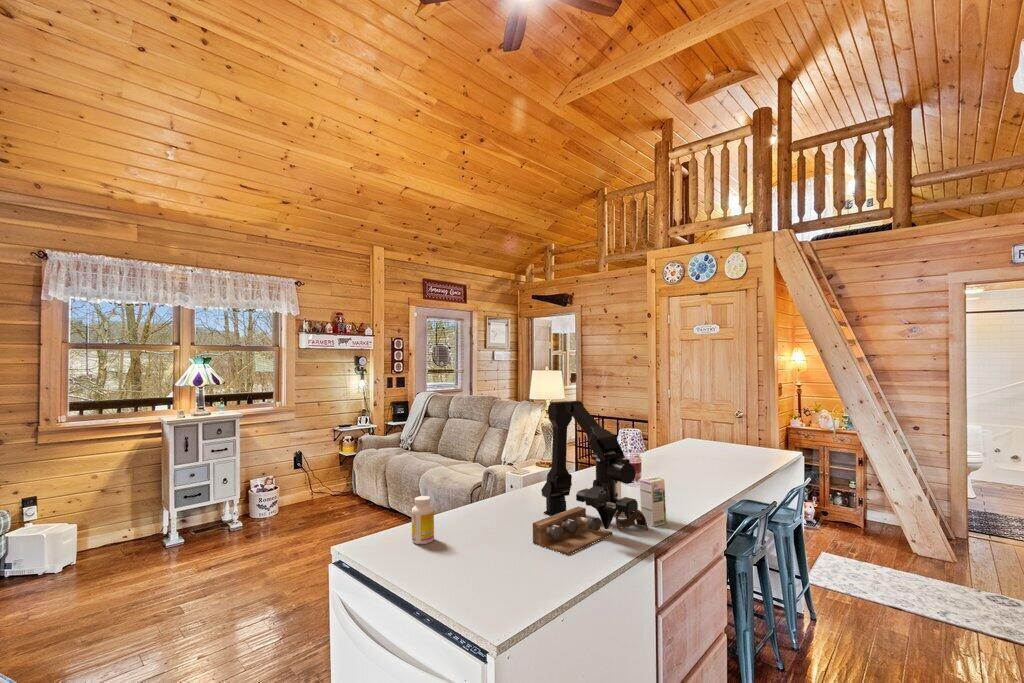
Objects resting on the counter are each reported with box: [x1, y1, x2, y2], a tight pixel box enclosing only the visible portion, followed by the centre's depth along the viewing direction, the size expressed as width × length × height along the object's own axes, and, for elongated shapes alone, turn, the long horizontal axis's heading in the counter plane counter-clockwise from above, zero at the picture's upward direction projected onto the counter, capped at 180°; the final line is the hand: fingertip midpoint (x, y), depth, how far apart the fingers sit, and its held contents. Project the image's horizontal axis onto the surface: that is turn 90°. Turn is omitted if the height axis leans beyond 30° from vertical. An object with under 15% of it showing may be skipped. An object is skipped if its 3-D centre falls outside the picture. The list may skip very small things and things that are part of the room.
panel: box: [532, 506, 613, 556], centre depth 143 cm, size 13×22×6 cm, turn 135°
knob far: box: [575, 515, 602, 531], centre depth 148 cm, size 8×4×4 cm, turn 45°
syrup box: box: [639, 476, 667, 528], centre depth 156 cm, size 6×6×14 cm
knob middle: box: [561, 519, 578, 534], centre depth 146 cm, size 8×4×4 cm, turn 45°
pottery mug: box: [614, 509, 649, 531], centre depth 152 cm, size 12×10×8 cm
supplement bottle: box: [411, 495, 435, 545], centre depth 144 cm, size 7×7×13 cm
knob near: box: [546, 525, 564, 540], centre depth 141 cm, size 8×4×4 cm, turn 45°
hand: (606, 528), depth 143 cm, fingers closed
